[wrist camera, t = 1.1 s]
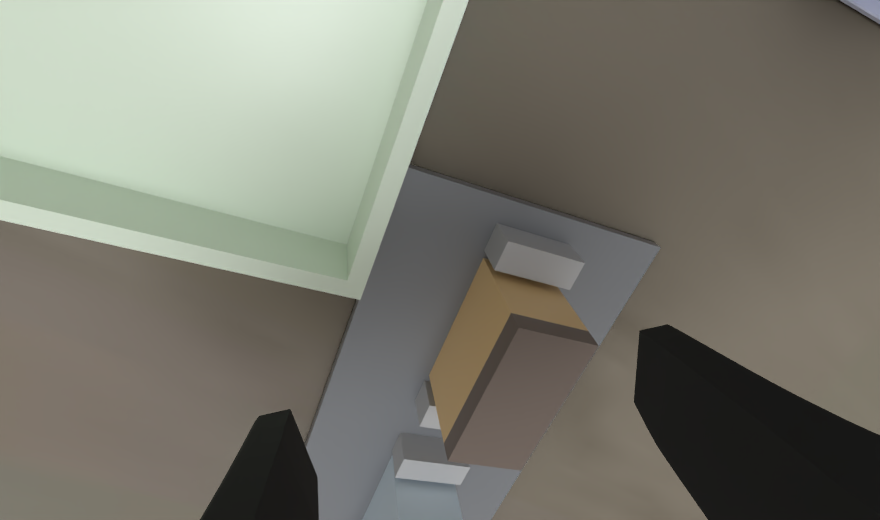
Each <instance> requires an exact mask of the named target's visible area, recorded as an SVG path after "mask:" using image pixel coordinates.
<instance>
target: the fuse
mask: <svg viewBox="0 0 880 520" xmlns="http://www.w3.org/2000/svg"><path fill="white" fill-rule="evenodd" d="M362 520H463V518H462V513H461V509H460V504H459V500H458V495H457V491H456V486H455V484H447V483H438V482H429V481H420V480H411V479H402V478H395V473H394V464H393V455H392V456H391V459H390V461H389V463H388V465H387V467H386V469H385V472H384V474H383V476H382V478H381V480H380V482H379V485H378V487H377V489H376V491H375V493H374V495H373V497H372V500H371V502H370V504H369V506H368V508H367V510H366V513H365V515H364V517H363V519H362Z"/></svg>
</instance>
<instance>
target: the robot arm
mask: <svg viewBox="0 0 880 520" xmlns="http://www.w3.org/2000/svg"><path fill="white" fill-rule="evenodd" d="M840 1H842V2H843V3H845V4H847V5H848V6H850V7H852V8H853V9H855V10H857V11H858V12H860V13H862V14H863V15H865V16H867V17H868V18H870V19H872V20H873V21H875V22H877V23H878V24H880V0H840ZM634 403H635V405H636V407H637V409H638V411H639V413H640V415H641V417H642V419H643V421H644V422H645V424H646V426H647V428H648V430H649V432H650V434H651V435H652V437H653V439H654V441H655V443H656V445H657V446H658V448H659V449H660V451H661V452H662V454H663V455H664V457H665V458H666V460H667V461H668V463H669V464H670V466H671V467H672V468H673V470H674V471H675V473H676V474H677V476H678V477H679V479H680V480H681V482H682V483H683V484H684V486H685V487H686V489H687V490H688V492H689V493H690V494H691V496H692V497H693V499H694V500H695V501H696V503H697V504H698V506H699V507H700V509H701V510H702V511H703V513H704V514H705V516H706V517H707V519H708V520H880V435H878V434H876V433H873V432H871V431H869V430H867V429H864V428H862V427H860V426H858V425H856V424H854V423H851V422H849V421H847V420H845V419H843V418H841V417H839V416H837V415H835V414H833V413H831V412H829V411H827V410H825V409H823V408H821V407H819V406H817V405H815V404H812V403H810V402H808V401H806V400H804V399H803V398H801V397H799V396H797V395H795V394H793V393H791V392H789V391H787V390H785V389H783V388H781V387H780V386H778V385H776V384H774V383H772V382H770V381H768V380H767V379H765V378H763V377H761V376H759V375H757V374H756V373H754V372H752V371H750V370H748V369H746V368H745V367H743V366H741V365H739V364H738V363H736V362H734V361H732V360H730V359H729V358H727V357H725V356H723V355H722V354H720V353H718V352H716V351H715V350H713V349H711V348H709V347H708V346H706V345H704V344H702V343H701V342H699V341H697V340H695V339H693V338H692V337H690V336H688V335H686V334H685V333H683V332H681V331H679V330H677V329H675V328H673V327H672V326H670V325H668V324H667V325H663V326H658V327H654V328H649V329H645V330H641V331H640V333H639V345H638V358H637V370H636V383H635V395H634ZM200 520H319V505H318V477H317V474H316V472H315V469H314V467H313V464H312V462H311V459H310V457H309V454H308V452H307V449H306V447H305V444H304V442H303V439H302V437H301V434H300V432H299V429H298V427H297V425H296V422H295V420H294V417H293V415H292V412H291V410H290V409H289V410H284V411H280V412H275V413H271V414H266V415H262V416H259V417H258V418H257V420H256V421H255V423H254V424H253V426H252V428H251V430H250V432H249V434H248V436H247V437H246V439H245V441H244V443H243V445H242V447H241V449H240V450H239V452H238V454H237V456H236V458H235V460H234V462H233V463H232V465H231V467H230V469H229V471H228V472H227V474H226V476H225V478H224V479H223V481H222V483H221V485H220V487H219V488H218V490H217V492H216V493H215V495H214V497H213V499H212V500H211V502H210V504H209V505H208V507H207V509H206V510H205V512H204V514H203V516H202V517H201V519H200Z"/></svg>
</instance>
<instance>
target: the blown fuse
mask: <svg viewBox="0 0 880 520" xmlns="http://www.w3.org/2000/svg"><path fill="white" fill-rule="evenodd" d="M598 347H599V345H598V344H597V343H596V341H595V340H594V338H593V337H592V335H591V334H590V333H589V331H588V330H587V328H586V327H585V325H584V324H583V323H582V321H581V320H580V318H579V317H578V315H577V314H576V313H575V311H574V310H573V308H572V307H571V305H570V304H569V303H568V301H567V300H566V298H565V297H564V295H563V294H562V293H561V291H560V290H559V288H558V287H556V286H552V285H548V284H545V283H541V282H537V281H533V280H530V279H526V278H522V277H518V276H514V275H511V274H507V273H503V272H499V271H495V270H494V269H493V267H492V265H491V263H490V261H489V259H486V258H483V260H482V262H481V264H480V266H479V268H478V271H477V273H476V275H475V277H474V279H473V281H472V284H471V286H470V288H469V290H468V292H467V294H466V297H465V299H464V301H463V303H462V305H461V307H460V309H459V312H458V314H457V316H456V318H455V320H454V322H453V325H452V327H451V329H450V331H449V333H448V335H447V338H446V340H445V342H444V344H443V346H442V348H441V351H440V353H439V355H438V357H437V359H436V361H435V363H434V366H433V368H432V370H431V372H430V374H429V378H430V382H431V387H432V392H433V396H434V401H435V405H436V410H437V414H438V419H439V424H440V428H441V433H442V437H443V442H444V447H445V451H446V456H447V460H448V461H449V462H457V463H465V464H473V465H481V466H488V467H496V468H504V469H512V470H520V471H521V470H522V469H523V467H524V465H525V464H526V462H527V461H528V459H529V457H530V456H531V454H532V453H533V451H534V449H535V448H536V446H537V445H538V443H539V441H540V440H541V438H542V437H543V435H544V433H545V432H546V430H547V429H548V427H549V425H550V424H551V422H552V420H553V419H554V417H555V416H556V414H557V412H558V411H559V409H560V408H561V406H562V404H563V403H564V401H565V400H566V398H567V396H568V395H569V393H570V392H571V390H572V388H573V387H574V385H575V384H576V382H577V380H578V379H579V377H580V376H581V374H582V372H583V371H584V369H585V368H586V366H587V364H588V363H589V361H590V360H591V358H592V356H593V355H594V353H595V352H596V350H597V348H598Z"/></svg>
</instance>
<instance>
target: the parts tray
mask: <svg viewBox="0 0 880 520" xmlns="http://www.w3.org/2000/svg"><path fill="white" fill-rule="evenodd" d="M468 1H469V0H0V220H3V221H7V222H12V223H16V224H21V225H25V226H30V227H34V228H39V229H43V230H48V231H52V232H57V233H61V234H66V235H70V236H75V237H79V238H84V239H88V240H93V241H97V242H102V243H106V244H111V245H115V246H120V247H124V248H129V249H133V250H138V251H142V252H146V253H151V254H155V255H160V256H164V257H169V258H173V259H178V260H182V261H187V262H191V263H196V264H200V265H205V266H209V267H214V268H218V269H223V270H227V271H232V272H236V273H241V274H245V275H250V276H254V277H259V278H263V279H268V280H272V281H277V282H281V283H286V284H290V285H295V286H299V287H304V288H308V289H313V290H317V291H322V292H326V293H331V294H335V295H340V296H344V297H349V298H353V299H358V300H361V297H362V294H363V291H364V289H365V286H366V283H367V280H368V277H369V275H370V272H371V269H372V266H373V264H374V261H375V258H376V255H377V253H378V250H379V247H380V244H381V241H382V239H383V236H384V233H385V230H386V228H387V225H388V222H389V219H390V217H391V214H392V211H393V208H394V205H395V203H396V200H397V197H398V194H399V192H400V189H401V186H402V183H403V181H404V178H405V175H406V172H407V170H408V167H409V164H410V161H411V158H412V156H413V153H414V150H415V147H416V145H417V142H418V139H419V136H420V134H421V131H422V128H423V125H424V122H425V120H426V117H427V114H428V111H429V109H430V106H431V103H432V100H433V98H434V95H435V92H436V89H437V86H438V84H439V81H440V78H441V75H442V73H443V70H444V67H445V64H446V62H447V59H448V56H449V53H450V50H451V48H452V45H453V42H454V39H455V37H456V34H457V31H458V28H459V26H460V23H461V20H462V17H463V14H464V12H465V9H466V6H467V3H468Z"/></svg>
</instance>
